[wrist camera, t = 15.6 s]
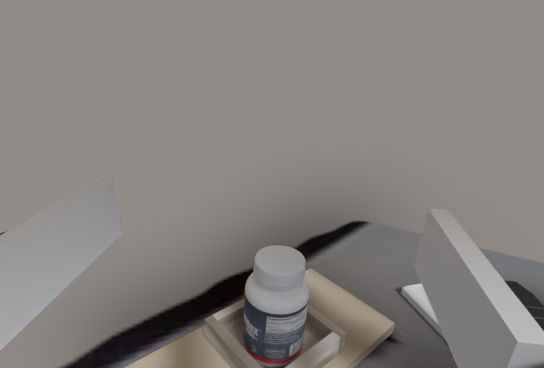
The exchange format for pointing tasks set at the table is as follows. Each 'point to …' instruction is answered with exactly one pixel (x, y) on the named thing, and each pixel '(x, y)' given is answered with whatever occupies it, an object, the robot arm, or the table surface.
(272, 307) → the pill bottle
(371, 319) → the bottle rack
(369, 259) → the table surface
